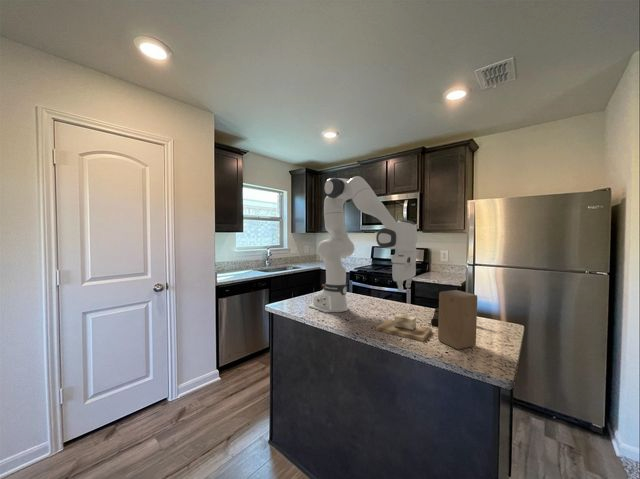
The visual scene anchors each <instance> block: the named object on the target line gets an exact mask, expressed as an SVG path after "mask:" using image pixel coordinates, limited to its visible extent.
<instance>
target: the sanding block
mask: <svg viewBox="0 0 640 479" xmlns="http://www.w3.org/2000/svg"><path fill="white" fill-rule="evenodd" d="M393 321H394V327H395V328H399V329H404V330H408V331H414V330H415V329H416V325H417V316H413V315H412V316H411V315H407V314H402V313H396V315H394V320H393Z"/></svg>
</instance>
